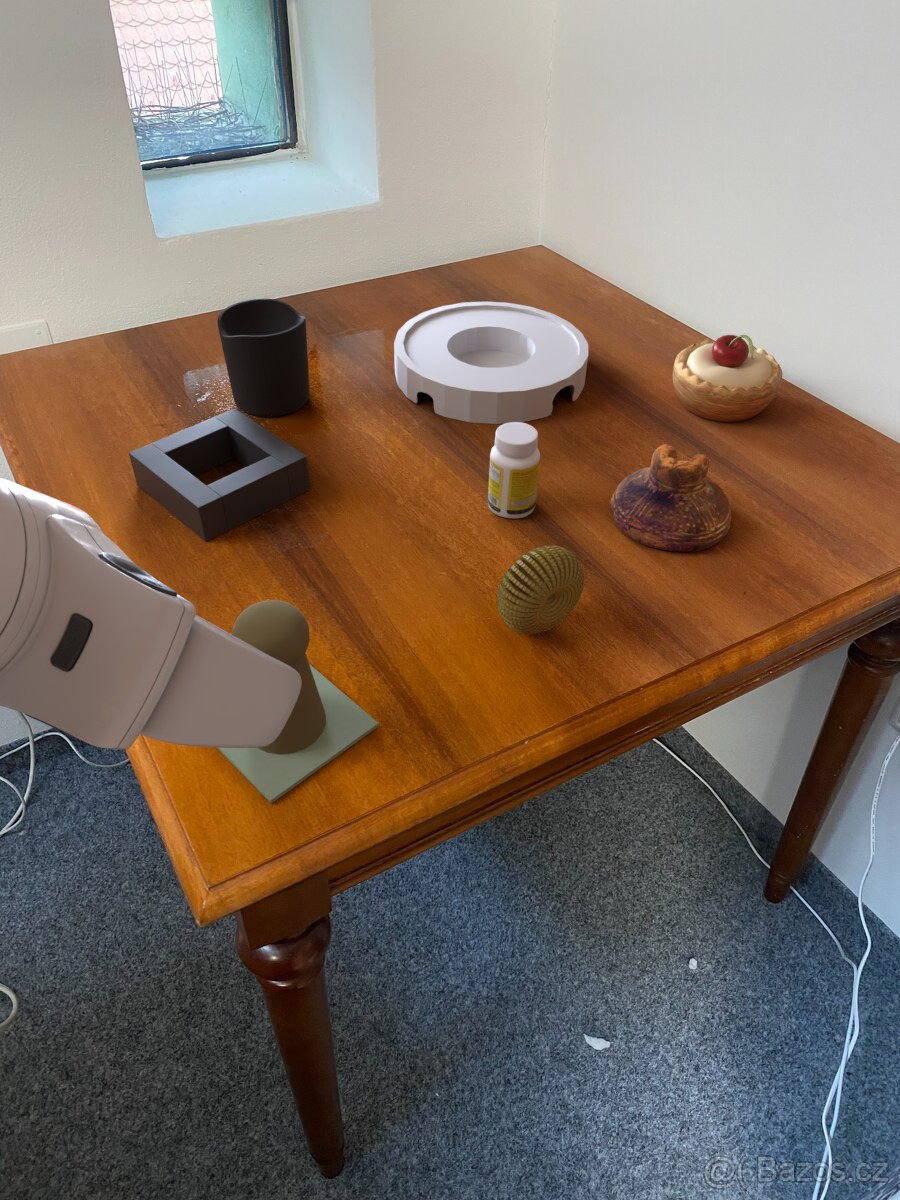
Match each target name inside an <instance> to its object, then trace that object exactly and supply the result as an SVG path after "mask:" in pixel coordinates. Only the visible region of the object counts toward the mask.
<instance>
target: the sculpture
mask: <svg viewBox="0 0 900 1200" xmlns="http://www.w3.org/2000/svg"><path fill="white" fill-rule="evenodd" d="M499 583H500V584H499V586H498V589H497V595H496V606H497V610H498V614H499V616H500V618H501V620H502V621H503V622H504V623H505V625H506V626H507V627H509V628H510V629H512V630H513V631H515V632H517V633H521V634H525V635H536V634H540V633H544V632H546V631H549V630H551V629H553V628H555V627H556V626H557V625H560V624H561V623H562V621H564V620H565V619H567V616H570V614H571V612H573V610H574V609H575V607H576V606H577V605H578V603H579V601H580V599H581V596H582V595H583V591H584V587H585V572H584V567H583V565H582V563H581V561H580V559H579V558H578V557H577V555H576V554H575V553H574V552H572V551H570V550H569V549H568V548H565V547H563V546H559V545H550V544H549V545H542V546H538V547H535V548H533V549H531V550H528V551H527V552H525V553H524V554H522V555H520V557H519V558H516V560H515V561H514V563H512V564H511V565H510V566H509V568H507V570H506V571H505V574H504V575H503V576H502V579H501V581H500V582H499Z"/></svg>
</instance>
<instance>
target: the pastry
mask: <svg viewBox="0 0 900 1200" xmlns="http://www.w3.org/2000/svg"><path fill="white" fill-rule="evenodd" d="M745 339H746V340H745ZM671 377H672V378H671V379H672V385H673V389H674V393H675V395H676V396H677V400H679V402H680V404H681V405H682V406H683V407H684V408H685V410H688V411H689V412H691V413H692V414H694V415H695V416H698V417H701V418H704V419H706V420H711V421H715V422H720V423H721V422H725V423H726V422H727V423H734V422H741V421H747V420H749V419H752V418H753V417H755V416H756V417H757V415H758V414H760V413H761V412H763V410H765V409H766V408H767V407H768V406H769V405H770V404H771V402H772V401H773V400H774V399H775V397H776V395H777V393H778V391H779V388H780V386H781V383H782V380H783V370H782V367H781V365H780V364H779V363H778V362H777V360H776V358H775V357H774V356H773V355H772V354H768V353H767V351H766V350H765V349H764V348H761V347H759V348H757V347H756V346H754V345H753V340H752V338H751V337H749V336H748V335H746V334H741V335H734V334H725V335H722V336H719V337H718V338H717V339H716V340H715V341H711V339H709V338H706V339H704V340H703V341H702V342H700V343H699V342H694V343H693V344H691V345H689V346H687V347H685V348H684V349H683V348H682V350H680V352H679V353H678V354H677V355H676V356H675V360H674V363H673V369H672V376H671Z"/></svg>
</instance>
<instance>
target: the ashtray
mask: <svg viewBox="0 0 900 1200" xmlns="http://www.w3.org/2000/svg"><path fill="white" fill-rule="evenodd" d="M393 352H394V353H393V354H394V355H393V356H394V375H395V380H396V384H397V386H398V388H399V389H400V390H401V392H402V393H403V394H404V396H405V397H406V398H407V399H409V400H410V401H412V402H413V403H414V404H416V405H417V403H418V399H419V394H418V393H424V394H426V395H429V396H430V397H431V398H432V401H433V410H434V414H436V415H439V416H442V417H443V418H448V419H453V420H458V421H462V422H466V423H476V424H489V425H503V424H506V423H510V422H521V423H527V422H530V421H534V420H538V419H543V418H547V417H550V416H551V415H552V412H553V410H554V405H553V401H554V398H555V397H556V396H557V394H559V392H560V391H561V390H562V389H564V388H566V387H569V392H570V394H571V399H572V402H575V401H576V400H578V399H579V396H580V395H581V393H582V391H583V390H584V387H585V384H586V376H587V369H588V360H589V343H588V341H587V339H586V338H585V335H584V334H583V332H582V331H581V330H580V329H578V327H575V325H573V324H572V323H571V322H570V321H568V320H566V319H565V318H562V317H560V316H558V315H556V314H554V313H553V312H549V311H546V310H542V309H539V308H536V307H533V306H529V305H523V304H517V303H512V302H501V301H486V300H485V301H468V302H465V301H464V302H457V303H453V304H446V305H442V306H438V307H435V308H431V309H429V310H426V311H422V312H421V313H419V314H417V315H415V316H413V317H412V318H410V319H409V320H407V321H406V322H404V324H403V325H402V326H401V327H400V328H399V329H398V330H397V333H396V336H395V338H394V342H393Z"/></svg>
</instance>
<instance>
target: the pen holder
mask: <svg viewBox="0 0 900 1200" xmlns="http://www.w3.org/2000/svg"><path fill="white" fill-rule="evenodd" d="M306 320H307V319H306V316H304V315H302V314H301V313H299V312H298V310H297V309H295V308H294V307H293V306H292V305H290V304H288V302H285V301H283V300H280V299H276V298H253V299H247V300H242V301H239V302H236V303H233V304H231V305H228V306H227V307H225V308H224V309H222V310H221V311H220V312H219V314H218V316H217V328H218V329H217V330H218V332H219V333H218V334H219V339H220V343H221V348H222V352H223V357H224V361H225V367H226V371H227V375H228V380H229V384H230V389H231V393H232V398H233V402H234V403H235V405H236V406H237V407H238V408H239V409H240V410H241V411H242V412H244V413H247V414H248V415H251V416H254V417H255V416H256V417H263V418H274V417H275V418H276V417H282V416H286V415H290V414H292V413H295V412H296V411H299V410H300V409H301V408H302V407H304V405H306V403H307V402H308V400H309V397H310V376H309V375H310V374H309V372H310V371H309V356H308V338H307V337H308V335H307V324H306V323H307V321H306Z"/></svg>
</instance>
